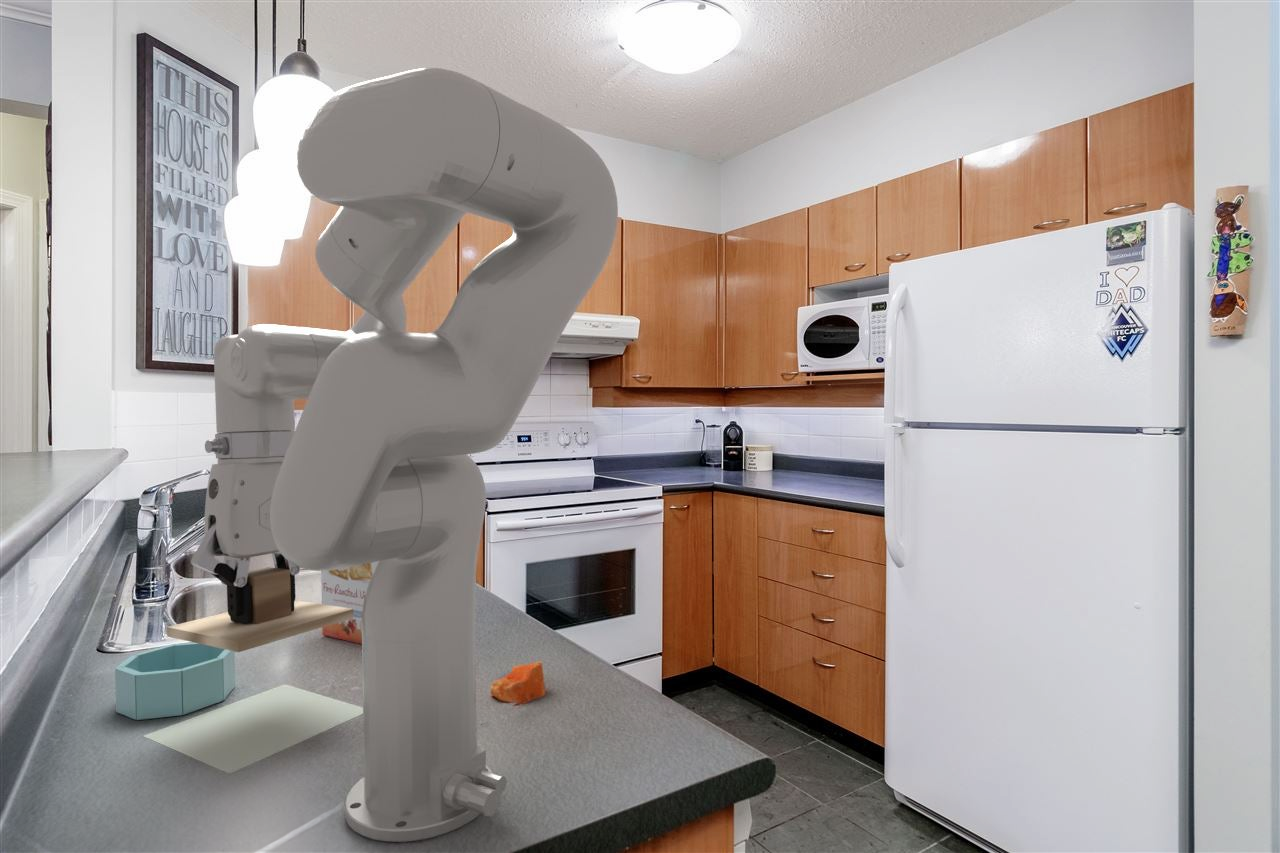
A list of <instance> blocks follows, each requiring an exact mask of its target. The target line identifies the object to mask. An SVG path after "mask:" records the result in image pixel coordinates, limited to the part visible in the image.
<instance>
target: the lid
mask: <svg viewBox="0 0 1280 853" xmlns="http://www.w3.org/2000/svg"><path fill="white" fill-rule="evenodd" d="M247 585H251V587H252V602H253V621H252V622H251V623H248V624H243V623H238V622H232V621H231V619H230V616H229V614H228V611H226V612H222V613H219V614H214V615H210V616H205V617H201V618H198V619H193V620H190V621H186V622H181V623H177V624H172V625H169V626H166V636H167V637H168V638H173V639H177V640H181V641H187V642H189V643H190V642H194V643H199V644H203V645H208V646H212V647H217V648H221V649H226V650H230V651H234V653H241V652H244V651H245V652H246V651H248V650H250V649H254V648H257V647H260V646H261V647H262V646H264V645H268V644H270V643H274V642H278V641H281V640H284V639H285V640H286V639H287V638H291V637H293V636H297V635H298V636H299V635H301V634H304V633H307V632H310V631H314V630H317V629H322V627H324V626H328V625H331V624H334V623H338V622H341V621H344V620H348V619H351V618H354V616H353V609H351V608H344V607H337V606H331V605H324V604H322V603H316V602H309V601H302V600H296V599H295V601H294V611H293V612H291V588H290V570H288V569H280V568H275V567H272V566H271V567H270V566H269V567H268V566H267V567H262V568H257V569H253V570H249V571H248V577H247Z"/></svg>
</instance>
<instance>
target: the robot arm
mask: <svg viewBox="0 0 1280 853" xmlns="http://www.w3.org/2000/svg"><path fill="white" fill-rule="evenodd" d="M295 156H296V167H297V172H298V175H299V178H300V179H301V181H302V184H303V186H304V187H305V189H306V190H307V191H308V192H310V194H311V195H313V196H314V197H315V198H317V199H319V200H320V201H323V202H325V203H328V204H330V205H331V204H332V205H335V206H339V209H338V210H337V211H336V213H335V215H333V217H332V219H331V221H330V222H329V224H327V226H326V228H325V230H324V231H323V232H322V233H321V234H320V236H319V238H318V240H317V242H316V246H315V248H314V249H315V250H314V251H315V252H314V256H315V261H316V264H317V267H318V268H319V270H320V272H321V274H322V275H323V277H324V278H325V279H326V281H327V282H328V283H329V284H330V285H331V286H332V288H334V289H335V290H336V291H337V292H338V293H339V294H341V295H342V296H343V297H344V298H345V299H347V300H348V301H350V302H351V303H353V304H354V305H356V306H358V307H359V308H360V309H362V310H364V311H363V312H362V314H361V315H360V317H359V318H358V319H357V320H356V322H355V323H354V324H353V325H352V326H351V327H350V328H349V329H348V330H347V331H341V330H335V329H333V330H332V329H324V328H314V327H306V326H290V325H283V324H282V325H281V324H273V323H271V324H269V323H262V324H261V323H260V324H255V325H250V326H248V327H247V328H244V329H243V330H241V331H240V333H238V334H232V335H231V334H230V335H226V336H223V337H221V338H220V339H218V340H217V341H216V343H215V345H214V348H213V349H214V350H213V366H214V368H213V369H214V370H213V371H214V392H215V393H214V394H215V395H214V396H215V421H216V424H215V425H216V427H215V428H216V433H215V434H214V439H207V440H205V443H204V450H205V452H206V453H208V454H210V453H211V454H215V459H217V463H212V464H211V468H210V472H209V476H208V481H207V487H206V494H205V506H204V537H203V539H202V540H201V543H200V544H199V546H198V547H197V549H196V551H195V552H194V554H193V556H192V557H191V560H190V565H192V566H194V567H196V568H198V569H201V570H202V571H205V572H208V573H210V574H211V575H212V576H213V577H215V578H216V579H217V580H219V581H220V582H221V584H222V585H224V586H226V597H227V598H226V601H227V602H226V604H227V605H226V606H227V612H228V614H229V616H230V619H231V621H232V622H238V623H243V624H248V623H251V622H252V621H253V602H252V587H251V585H247V577H248V571H250V570H249V569H250V563H251V558H253V557H260V556H265V555H269V554H270V555H271V556H272V560H273V564H274V565H273V566H274V568H280V569H288V570H290V588H291V612H293V611H294V601H295V600H296V597H297V596H296V578H295V576H297V575H298V574H299V573H300V571H301V569H304V570H308V571H314V572H321V571H329V570H336V569H342V568H348V567H353V566H357V565H362V564H367V563H372V562H377V561H379V563H378V565H377V567H376V569H375V571H374V573H373V575H372V578H371V580H370V582H369V585H368V588H367V590H366V594H365V598H364V603H363V610H362V644H361V653H362V654H361V657H362V658H361V659H362V660H361V661H362V662H361V666H362V668H361V669H362V674H361V675H362V707H363V714H362V721H363V722H362V723H363V724H362V725H363V731H362V732H363V733H362V734H363V736H362V738H363V777H362V778H361V779H359V780H357V782H356V783H355V784H354V785H353V786H352V787H351V789H349V792H348V793H347V795H346V797H345V801H344V818H345V820H346V822H347V825H348V826H349V827H350V828H351V829H352V831H354V832H356V833H357V834H359V835H361V836H363V837H365V838H368V839H371V840H374V841H381V842H390V843H391V842H396V843H397V842H398V843H403V842H414V841H419V840H420V841H421V840H425V839H430V838H435V837H437V836H440V835H444V834H448V833H450V832H452V831H454V830H456V829H457V830H458V829H459V828H462V827H463V826H465V825H466V824H468V823H470V822H472V821H473V820H475V819H476V818H477V817H478V816H479V815H483V816H484V817H485V816H486V817H491V816H493V815H494V814H495V813H496V811H497V810H498V808H499V805H500V800H501V796H500V794H502V793H503V792H504V791H505V790H506V787H507V783H508V782H507V777H506V776H505V775H501V774H498V773H496V772H494V771H493V770H492V768H490V766H489V765H488V764H487V762H486V761H487V760H486V757H487V756H486V755H487V754H486V751H487V749H486V748H483V747H481V746H477V744H478V743H477V739H478V738H477V736H478V735H477V732H478V730H477V673H476V672H477V668H476V665H477V663H476V660H477V659H476V658H477V656H476V653H477V652H476V619H477V618H476V617H477V616H476V615H477V614H476V584H477V583H476V582H477V581H476V579H477V578H476V577H477V564H478V552H479V547H480V546H479V545H480V540H481V535H482V531H483V525H484V521H485V520H484V519H485V513H486V506H487V505H486V503H487V493H486V485H485V481H484V480H485V479H484V477H483V474H482V471H481V470H480V468H479V467H478V465H477V463H476V461H474V460H473V458H472V457H470V456H469V455H472V454H478V453H483V452H487V451H489V450H492V449H494V448H495V447H497V446H499V444H500V443H501V442H502V441H503V440H504V439H505V438H506V437H507V435H508V434H509V432H510V431H511V429H512V428H513V426H514V424H515V423H516V420H517V419H518V417H519V415H520V414H521V411H522V409H523V408H524V406H525V404H526V403H527V401H528V399H529V397H530V394H531V393H532V392H533V389H534V388H535V386H536V384H537V382H538V380H539V378H540V376H541V374H542V372H543V371H544V369H545V367H546V366H547V363H548V362H549V359H550V358H551V356H552V354H553V352H554V351H555V350H554V349H555V348H556V346H557V343H558V341H559V339H560V338H561V336H562V334H563V332H564V331H565V329H566V327H567V325H568V323H569V322H570V320H571V319H572V318H573V316H574V314H575V312H576V311H577V310H578V308H579V306H580V305H581V303H582V302H583V300H584V299H585V298H586V296H587V294H588V293H589V291H590V290H591V288H592V287H593V285H595V282H596V281H597V279H598V277H599V276H600V275H601V272H602V270H603V269H604V267H605V265H606V262H607V260H608V258H609V256H610V253H611V252H612V248H613V245H614V242H615V237H616V233H617V228H618V222H619V221H618V218H619V213H618V211H619V208H618V207H619V206H618V205H619V204H618V197H617V191H616V187H615V183H614V180H613V177H612V175H611V172H610V170H609V168H608V166H607V165H606V163H605V161H604V160H603V159H602V157H601V156H600V155H599V153H598V152H596V151H595V149H594V148H593V147H592V146H591V145H590V144H588V143H587V142H586V141H585V140H584V139H583V138H581V137H580V136H579V135H577V134H576V132H575V133H574V131H572V130H570V129H568V128H567V126H564V125H562V124H561V123H560V122H558V121H556V120H553V119H552V118H550V117H548V116H546V115H544V114H543V113H540V112H538V111H537V110H536V109H532V108H530V107H529V106H527V105H525V104H522V103H520V102H518V101H516V100H514V99H512V98H511V97H509V96H506V95H505V94H503V93H502V92H499V91H497V90H496V89H493V88H492V87H489V86H488V85H485V84H484V83H482V82H480V81H478V80H475V79H474V78H471V77H470V76H467V75H465V74H462V73H460V72H458V71H453V70H451V69H450V70H449V69H446V68H441V67H440V68H439V67H422V68H417V69H412V70H406V71H403V72H399V73H395V74H392V75H388V76H384V77H379V78H375V79H371V80H366V81H362V82H359V83H355V84H353V85H350V86H346V87H344V88H341V89H340V90H339V89H338V90H337V91H335V92H334V93H332V94H330V95H329V96H327V97H326V98H325V99H323V100H322V101H321V102H319V104H318V105H317V106H316V107H315V108H314V110H312V112H311V113H310V114H309V116H308V117H307V119H306V120H305V122H304V124H303V126H302V127H301V130H300V134H299V137H298V140H297V147H296V155H295ZM467 214H472V215H474V216H479V217H481V218H483V219H488V220H491V221H495V222H498V223H500V224H501V223H502V224H505V225H508V226H510V228H511V229H512V235H511V237H510V238H508V239H507V240H506V241H505V242H503V243H501V244H500V245H499V246H497V247H496V248H494V249H493V250H491V251H490V252H489V253H487V254H486V255H485V256H484V257H483V258H482V259H481V260H480V261H479V262H478V263H477V264H476V265H475V266H474V268H473V269H472V270H471V271H469V273H468V275H467V276H466V277H465V279H464V280H463V281H462V284H461V286H460V287H459V289H458V292H457V294H456V296H455V298H454V301H453V303H452V306H451V308H450V309H449V311H448V313H447V315H446V316H445V318H444V320H443V322H442V323H441V324H440V325H439V327H438V328H437V329H435V330H433V331H431V332H427V333H421V332H413V331H412V332H409V331H407V321H408V320H407V310H406V305H405V301H404V299H403V295H404V293H405V291H406V290H407V289H408V288H409V286H411V284H412V282H413V281H414V280H415V279H416V278H417V276H418V275H419V274H420V273H421V272H422V270H423V269H424V267H425V266H426V265H427V264H428V262H429V261H430V260H431V259H432V258H433V256H434V255H435V254H436V252H437V251H438V250H439V248H441V246H442V245H443V244H444V242H445V241H446V239H447V238H448V237H449V236H450V235H451V233H453V231H454V229H455V228H456V227H457V226H458V224H460V222H461V220H462V219H463V218H464V217H465V215H467ZM295 400H296V401H297V400H306V402H305V405H304V407H303V409H302V413H301V415H300V417H299V420H298V423H297V424H296V422H295V421H296V420H295ZM295 425H296V426H295ZM215 556H216V557H223V556H224V557H223V562H222V561H220V560H218V559H216V558H215Z"/></svg>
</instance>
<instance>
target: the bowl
mask: <svg viewBox="0 0 1280 853" xmlns="http://www.w3.org/2000/svg"><path fill="white" fill-rule="evenodd" d="M235 653H236V652H235V651H230V650H226V649H221V648H217V647H212V646H208V645H203V644H199V643H194V642H190V641H189V642H181V643H172V644H168V645H164V646H161V647H156V648H154V649H153V648H152V649H149V650H146V651H145V650H144V651H143V652H139V653H135V654H132V655H131V656H129V657H128V658H126V659H125V660H124V661H122V662H121V663H120V664H118V665H117V666H116V667H115V668H114V670H115V671H114V675H115V676H114V678H115V681H114V682H115V712H116V713H118V714H120V715H123V716H125V717H127V718H130V719H133V720H136V721H139V720H150V719H159V718H167V717H176V716H177V717H178V716H183V715H186V714H190V713H193V712H196V711H198V710H200V709H203V708H207V707H209V706H213V705H214V704H217V703H220V702H222V701H225V700H226V698H228V696H229V694H230V693H231V692H232V691H233V689H234V688H235V687H236V667H235V665H236V664H235V663H236V662H235V659H236V658H235V657H236V656H235Z"/></svg>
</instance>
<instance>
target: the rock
mask: <svg viewBox="0 0 1280 853" xmlns="http://www.w3.org/2000/svg"><path fill="white" fill-rule="evenodd" d="M543 669H544V668H543V662H542V661H536V662H532V663H529V664H517V665H514V666H513V667H512V668H511V671H510V672H509V673H508V674H507V675H505V676H504V677H502V678H499V679H497V680H495V681H493V682H492V684H491V687H490V695H491V696H492V697H495V698H497V700H499V701H502V702H507V703H508V702H509V703H515V704H513V705H512V707H518V706H521V705H524V704H525V703H529V702H530V701H532V700H535V699H539V698H542V697H544V696H545V695H546V691H547V690H546V685H545V680H544V679H545V678H544V673H543V671H544V670H543Z"/></svg>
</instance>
